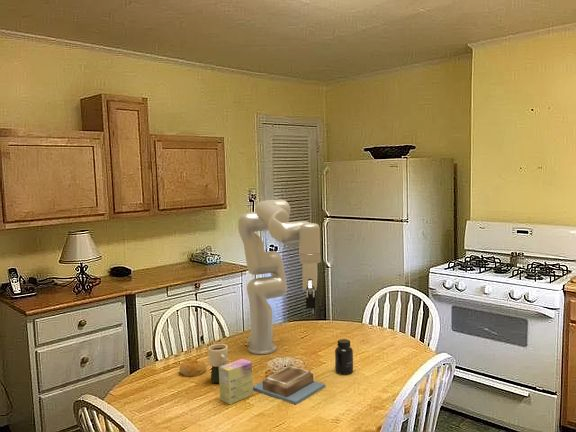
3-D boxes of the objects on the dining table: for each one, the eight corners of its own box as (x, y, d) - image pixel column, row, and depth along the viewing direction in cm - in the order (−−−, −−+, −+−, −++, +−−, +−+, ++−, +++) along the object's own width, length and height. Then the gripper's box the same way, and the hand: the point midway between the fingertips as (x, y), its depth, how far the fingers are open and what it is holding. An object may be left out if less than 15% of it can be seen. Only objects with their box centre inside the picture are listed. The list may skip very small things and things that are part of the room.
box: (243, 390, 177) (241, 357, 176) (253, 395, 173) (252, 361, 172) (219, 400, 170) (218, 366, 169) (229, 405, 166) (228, 370, 165)
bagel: (212, 370, 196) (211, 359, 196) (189, 380, 188) (188, 367, 187) (197, 365, 203) (196, 353, 202) (174, 374, 195) (173, 362, 194)
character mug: (234, 383, 183) (232, 349, 182) (216, 388, 179) (214, 353, 178) (222, 374, 192) (220, 341, 191) (204, 378, 188) (203, 344, 187)
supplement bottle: (352, 375, 187) (352, 344, 186) (334, 374, 188) (333, 343, 188) (353, 368, 194) (353, 338, 193) (336, 367, 195) (335, 337, 194)
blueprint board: (251, 389, 177) (251, 386, 177) (282, 374, 190) (282, 371, 190) (296, 404, 165) (295, 401, 165) (325, 386, 178) (325, 384, 178)
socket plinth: (262, 389, 175) (262, 378, 175) (289, 375, 187) (289, 364, 186) (287, 397, 168) (286, 385, 168) (313, 382, 180) (313, 371, 180)
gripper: (300, 254, 188) (301, 298, 189) (298, 262, 171) (299, 311, 172) (320, 253, 187) (321, 298, 189) (320, 261, 170) (321, 311, 172)
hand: (311, 304), depth 180 cm, fingers open, 9 cm apart
